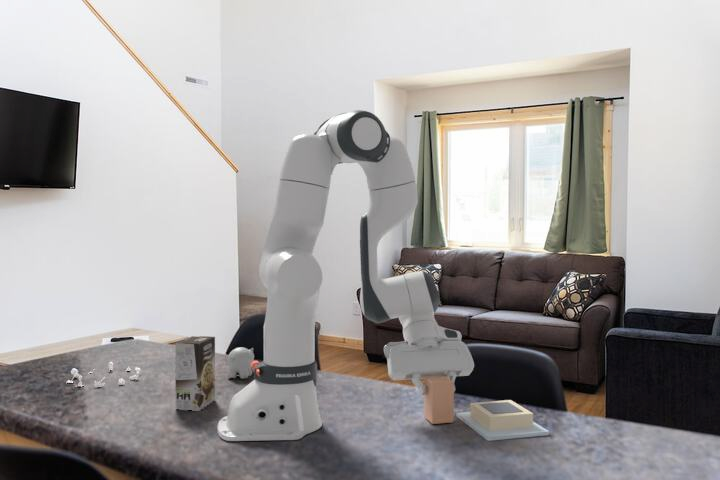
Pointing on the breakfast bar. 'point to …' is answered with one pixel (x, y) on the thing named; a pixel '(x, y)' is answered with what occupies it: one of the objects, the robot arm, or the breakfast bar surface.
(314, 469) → the breakfast bar surface
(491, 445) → the breakfast bar surface
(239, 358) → the chubby cartoon animal
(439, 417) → the pillar block
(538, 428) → the base
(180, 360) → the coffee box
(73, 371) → the game piece set
